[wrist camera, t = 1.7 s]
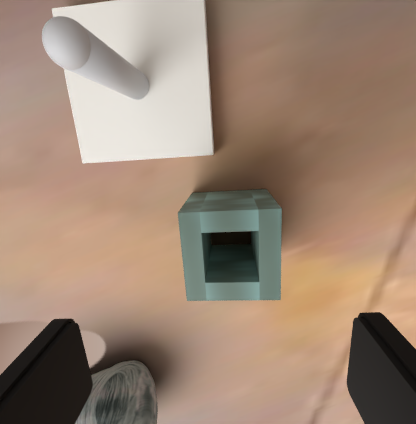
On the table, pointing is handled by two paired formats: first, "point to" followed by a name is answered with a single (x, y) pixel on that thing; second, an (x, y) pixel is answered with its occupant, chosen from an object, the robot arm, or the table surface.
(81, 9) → the white peg stand
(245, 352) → the table surface
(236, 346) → the table surface
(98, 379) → the spool
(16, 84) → the table surface
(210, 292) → the bead
